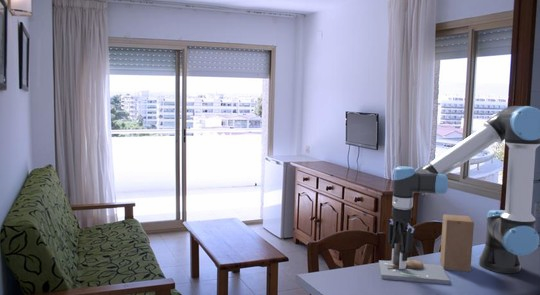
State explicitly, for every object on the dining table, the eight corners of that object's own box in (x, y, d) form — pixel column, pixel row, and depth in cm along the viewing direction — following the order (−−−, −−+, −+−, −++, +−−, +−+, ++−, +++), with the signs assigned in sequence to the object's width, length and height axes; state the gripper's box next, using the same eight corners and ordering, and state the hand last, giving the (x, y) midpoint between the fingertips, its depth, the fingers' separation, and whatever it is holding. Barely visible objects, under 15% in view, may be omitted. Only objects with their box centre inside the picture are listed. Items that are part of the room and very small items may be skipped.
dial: (417, 262, 189) (418, 239, 188) (426, 268, 182) (428, 245, 181) (382, 264, 186) (383, 241, 185) (390, 270, 179) (392, 246, 178)
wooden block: (470, 272, 184) (474, 221, 182) (443, 269, 186) (446, 220, 184) (465, 263, 194) (468, 215, 192) (439, 261, 196) (442, 213, 194)
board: (441, 268, 187) (441, 264, 187) (449, 284, 172) (449, 279, 172) (378, 263, 191) (379, 259, 191) (381, 278, 176) (381, 274, 175)
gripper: (380, 202, 186) (377, 260, 189) (409, 213, 171) (405, 275, 174) (395, 201, 190) (392, 257, 192) (425, 211, 174) (421, 272, 177)
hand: (398, 266), depth 183 cm, fingers open, 4 cm apart
